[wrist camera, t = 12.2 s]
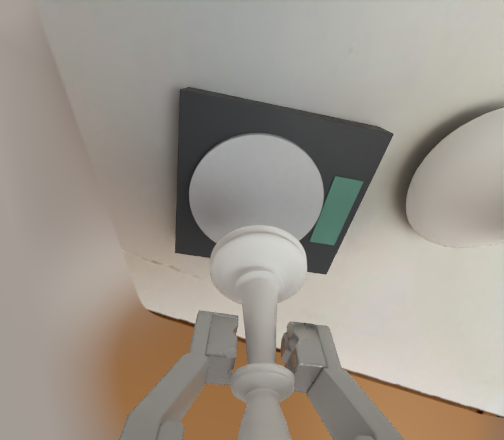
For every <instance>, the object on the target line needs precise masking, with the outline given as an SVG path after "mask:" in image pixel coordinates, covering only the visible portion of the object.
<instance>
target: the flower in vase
mask: <svg viewBox="0 0 504 440" xmlns="http://www.w3.org/2000/svg"><path fill="white" fill-rule="evenodd" d="M406 213H407V218H408V221H409V223H410V225H411V227H412V228H413V230H414V231H415V232H416V233H417V234H418V235H420V236H421V237H423V238H424V239H426V240H428V241H431V242H433V243H436V244H439V245H442V246H446V247H453V248H466V247H481V246H488V245H492V244H497V243H501V242H504V108H500V109H497V110H494V111H491V112H488V113H486V114H484V115H482V116H479V117H477V118H475V119H473V120H472V121H470V122H468V123H466V124H464V125H462V126H461V127H459V128H458V129H456V130H455V131H453V132H452V133H450V134H449V135H448V136H446V137H445V138H444V139H443V140H441V141H440V142H439V143H438V144H437V145H436V146H435V147H434V148H433V149H432V150H431V151H430V152H429V154H428V155H427V156H426V157H425V158H424V159H423V161H422V162H421V164H420V165H419V167H418V168H417V170H416V172H415V174H414V175H413V178H412V180H411V183H410V186H409V189H408V193H407V199H406Z"/></svg>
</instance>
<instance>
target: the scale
mask: <svg viewBox="0 0 504 440" xmlns="http://www.w3.org/2000/svg"><path fill="white" fill-rule="evenodd" d="M392 136H393V133H391V132H389V131H386V130H384V129H382V128H380V127H377V126H372V125H368V124H363V123H358V122H353V121H348V120H344V119H339V118H334V117H329V116H325V115H320V114H315V113H310V112H306V111H301V110H296V109H291V108H286V107H282V106H277V105H272V104H267V103H263V102H258V101H253V100H248V99H244V98H239V97H234V96H229V95H225V94H220V93H215V92H210V91H205V90H201V89H196V88H191V87H187V88H184V89H181V90H180V112H179V144H178V177H177V210H176V242H175V253H180V254H187V255H194V256H201V257H208V258H210V257H211V253H212V251H213V249H214V247H215V245H216V244H217V243H218V241H219V240H220V239H221V238H223V237H224V236H225V235H227V234H228V233H230V232H232V231H234V230H236V229H239V228H242V227H246V226H252V225H267V226H273V227H276V228H280V229H282V230H284V231H286V232H288V233H290V234H291V235H293V236H294V237H295V238H296V239H297V240H298V241H299V242H300V243H301V245H302V246H303V248H304V250H305V253H306V258H307V272H313V273H320V274H327V272H328V270H329V268H330V266H331V263H332V261H333V259H334V257H335V255H336V253H337V251H338V249H339V247H340V245H341V243H342V241H343V238H344V236H345V234H346V232H347V230H348V228H349V226H350V224H351V222H352V220H353V218H354V216H355V213H356V211H357V209H358V207H359V205H360V203H361V201H362V199H363V197H364V195H365V193H366V191H367V188H368V186H369V184H370V182H371V180H372V178H373V176H374V174H375V172H376V170H377V168H378V166H379V163H380V161H381V159H382V157H383V155H384V153H385V151H386V149H387V147H388V145H389V143H390V141H391V138H392Z"/></svg>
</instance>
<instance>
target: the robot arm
mask: <svg viewBox="0 0 504 440" xmlns="http://www.w3.org/2000/svg"><path fill="white" fill-rule="evenodd" d="M211 317H212V318H211ZM210 323H211V324H210ZM237 327H238V316H236V315H229V314H222V313H214V312H207V311H199V312H198V315H197V319H196V323H195V328H194V333H193V337H192V342H191V346H190V351H189V354H184V355H183V356H182V357H181V358H180V359H179V360H178V361H177V363H176V364H175V365H174V366H173V367H172V368H171V369H170V370H169V371H168V373H166V375H165V376H164V377H163V378H162V379H161V380H160V381H159V382H158V383H157V384H156V385H155V387H154V388H153V389H152V390H151V391H150V392H149V393H148V394H147V396H145V398H144V399H143V400H142V401H141V402H140V403H139V404H138V405H137V406H136V407H135V409H134V410H133V411H132V412H131V413H130V414H129V415H128V417H127V419H126V422H125V425H124V428H123V430H122V433H121V436H120V439H119V440H183V437H184V426H183V425H182V423H181V422H180V421H181V419H182V418H183V416H184V415H185V413H186V412H187V411H188V409H189V408H190V406H191V405H192V403H193V402H194V400H195V399H196V398H197V396H198V395H199V393H200V392H201V390H202V389H203V387H204V386H205V384H219V385H228V384H229V379H230V376H231V370H232V369H233V367H234V363H235V359H236V349H237V337H236V332H237ZM281 359H282V360H283V362H284V363H285V367H286V368H287V369H289V370H290V371H291V372H292V373H293V374H294V376H295V384H294V391H295V392H303V393H307V396H308V397H309V399H310V401H311V403H312V404H313V406H314V408H315V409H316V411H317V413H318V414H319V416H320V418H321V420H322V422H323V423H324V425H325V426H326V428H327V430H328V432H329V433H330V435H331V437H332V439H333V440H404V439H403V437H402V436H401V435H400V433H399V432H398V431H397V430H396V429H395V427H393V425H392V424H391V423H390V422H389V420H388V419H387V418H386V417H385V416H384V415H383V413H382V412H381V411H380V410H379V409H378V408H377V406H376V405H375V404H374V403H373V402H372V400H371V399H370V398H369V397H368V396H367V394H366V393H365V392H364V391H363V390H362V389H361V387H360V386H359V385H358V384H357V383H356V382H355V380H354V379H353V378H352V377H351V376H350V374H349V373H348V372H347V371H346V370H342V368H341V365H340V361H339V358H338V355H337V351H336V348H335V345H334V341H333V338H332V335H331V332H330V329H329V327H328V326H324V325H314V324H308V323H299V322H289V323H288V325H287V332H286V333H284V335H283V337H282V341H281Z"/></svg>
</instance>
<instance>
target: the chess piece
mask: <svg viewBox="0 0 504 440" xmlns="http://www.w3.org/2000/svg"><path fill="white" fill-rule="evenodd" d="M210 275H211V279H212V281H213V283H214V285H215V287H216V288H217V289H218V291H219V292H220V293H222V294H223V295H224V296H225V297H227V298H228V299H230V300H232V301H234V302H237V303H240V304H242V308H243V317H244V326H245V335H246V349H247V361H248V365H245V366H242V367H240V368H238V369H237V370H235V371H234V372H233V373H232V374H231V376H230V379H229V383H230V386H231V392H232V393H233V395H234V396H235V397H236V398H238V399H240V400H242V401H244V402H245V403H246V404H247V406H246V409H245V412H244V416H243V419H242V422H241V425H240V429H239V435H238V439H237V440H292V439H291V437H290V433H289V429H288V426H287V423H286V420H285V418H284V416H283V413H282V410H281V408H280V406H279V403H280V402H281V401H282V400H284V399H286V398H288V397H289V396H290V395H291V394H292V393H293V391H294V384H295V376H294V374H293V373H292V372H291V371H290V370H289V369H287V368H286V367H283V366H281V365H277V364H276V321H277V303H279V302H282V301H284V300H286V299H288V298H289V297H291V296H292V295H294V294H295V293H296V292H297V291H298V290H299V289H300V288H301V286H302V285H303V283H304V281H305V279H306V275H307V258H306V253H305V250H304V248H303V246H302V245H301V243H300V242H299V241H298V240H297V239H296V238H295V237H294V236H293V235H291V234H290V233H288V232H286V231H284V230H282V229H280V228H276V227H273V226H267V225H252V226H246V227H242V228H239V229H236V230H234V231H232V232H230V233H228V234H227V235H225V236H224V237H223V238H221V239H220V240H219V241H218V243H217V244H216V245H215V247H214V249H213V251H212V253H211V257H210Z"/></svg>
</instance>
